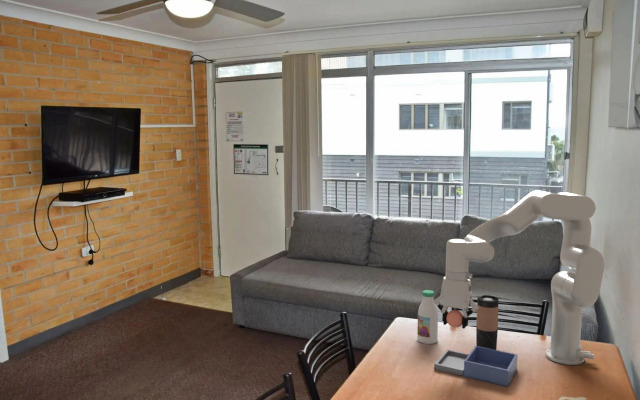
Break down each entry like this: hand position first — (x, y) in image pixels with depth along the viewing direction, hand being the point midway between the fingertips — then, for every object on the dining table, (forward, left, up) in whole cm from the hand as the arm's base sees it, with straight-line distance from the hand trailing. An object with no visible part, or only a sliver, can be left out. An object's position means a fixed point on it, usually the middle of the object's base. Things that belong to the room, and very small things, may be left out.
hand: (454, 325), depth 180 cm
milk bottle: (+15, -16, -15) cm, 26 cm away
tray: (0, 0, -15) cm, 15 cm away
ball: (0, 0, +2) cm, 2 cm away
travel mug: (-7, -19, -15) cm, 25 cm away
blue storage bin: (-13, 0, -15) cm, 19 cm away
